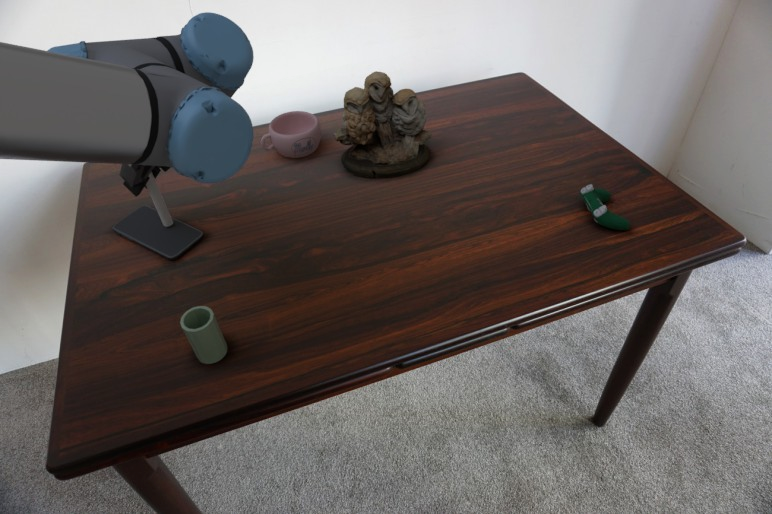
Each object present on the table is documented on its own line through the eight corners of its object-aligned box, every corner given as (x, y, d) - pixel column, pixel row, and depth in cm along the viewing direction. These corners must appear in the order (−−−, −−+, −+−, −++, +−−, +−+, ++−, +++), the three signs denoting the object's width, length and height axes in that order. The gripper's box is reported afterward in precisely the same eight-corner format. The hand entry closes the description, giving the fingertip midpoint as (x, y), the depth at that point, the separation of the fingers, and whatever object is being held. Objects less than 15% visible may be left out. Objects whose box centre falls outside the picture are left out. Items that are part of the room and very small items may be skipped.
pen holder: (202, 369, 67) (185, 336, 62) (193, 347, 70) (176, 314, 65) (231, 355, 69) (217, 322, 64) (221, 334, 71) (207, 301, 66)
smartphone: (171, 259, 81) (108, 227, 87) (173, 263, 82) (111, 231, 87) (206, 231, 85) (144, 202, 91) (207, 236, 86) (146, 207, 92)
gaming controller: (591, 206, 90) (572, 189, 87) (610, 192, 88) (591, 174, 85) (613, 242, 84) (593, 224, 81) (634, 227, 82) (614, 209, 79)
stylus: (165, 230, 86) (133, 158, 76) (163, 225, 87) (131, 153, 77) (175, 226, 86) (144, 155, 77) (172, 221, 88) (142, 150, 78)
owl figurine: (342, 186, 94) (332, 98, 82) (332, 151, 102) (321, 67, 90) (438, 170, 97) (441, 82, 85) (421, 137, 105) (421, 53, 93)
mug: (312, 131, 108) (308, 105, 104) (331, 154, 102) (327, 127, 97) (257, 147, 104) (250, 121, 100) (272, 172, 98) (266, 145, 94)
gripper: (160, 165, 62) (118, 229, 80) (239, 109, 71) (186, 178, 89) (111, 116, 60) (80, 193, 78) (199, 65, 69) (153, 144, 87)
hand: (136, 185), depth 83 cm, fingers closed on stylus, 1 cm apart
